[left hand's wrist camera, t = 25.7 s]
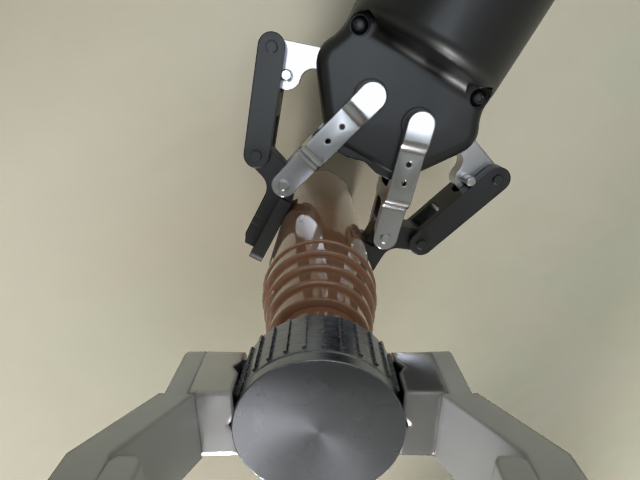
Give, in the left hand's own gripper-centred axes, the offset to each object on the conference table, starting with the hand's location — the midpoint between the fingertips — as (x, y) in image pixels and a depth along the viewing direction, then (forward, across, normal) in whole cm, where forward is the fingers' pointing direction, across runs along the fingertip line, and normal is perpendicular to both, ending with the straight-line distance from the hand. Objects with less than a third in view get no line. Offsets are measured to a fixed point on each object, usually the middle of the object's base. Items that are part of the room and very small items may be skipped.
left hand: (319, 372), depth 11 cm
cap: (-2, 0, 0) cm, 2 cm away
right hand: (+12, -1, -2) cm, 12 cm away
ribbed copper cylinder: (+18, 0, 0) cm, 18 cm away
